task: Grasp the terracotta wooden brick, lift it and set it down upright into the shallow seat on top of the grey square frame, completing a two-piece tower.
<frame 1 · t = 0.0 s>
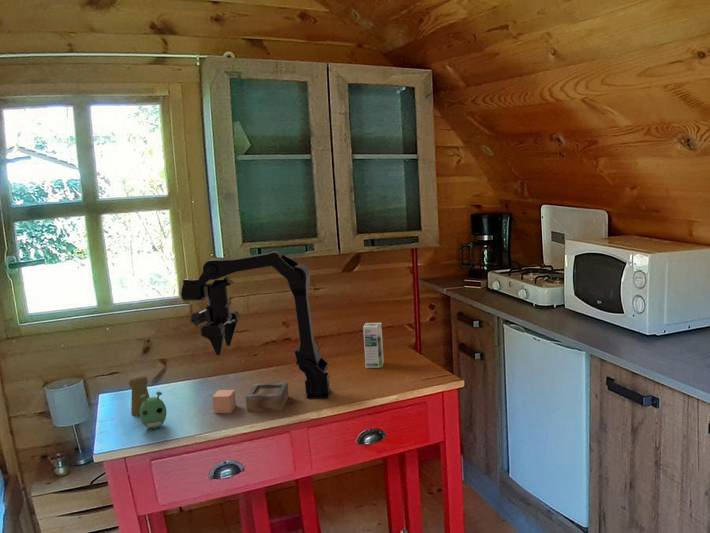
hand: (223, 350, 182), 15 cm above the table, fingers open, 9 cm apart
syrup box: (374, 366, 203), on the table
alien toy: (155, 428, 164), on the table
cork: (142, 412, 176), on the table
top brick: (225, 409, 174), on the table
grey square frame: (268, 404, 176), on the table
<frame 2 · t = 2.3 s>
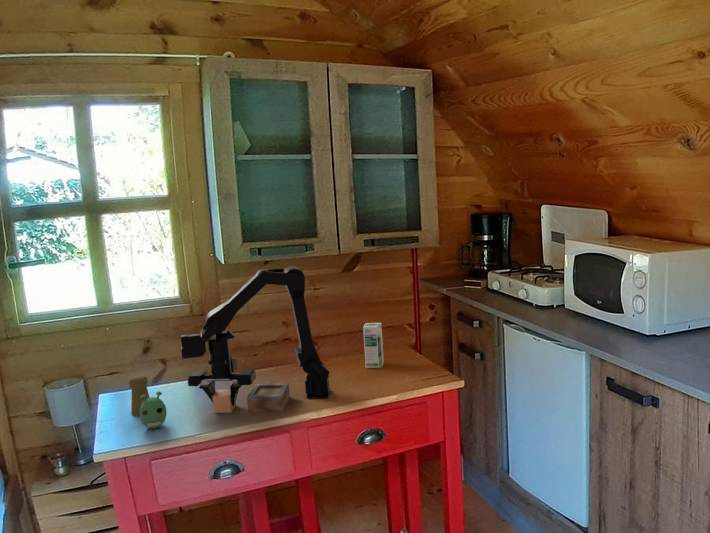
hand: (224, 405, 174), 1 cm above the table, fingers closed on top brick, 5 cm apart
top brick: (225, 409, 174), on the table, touching gripper
everything else where it was.
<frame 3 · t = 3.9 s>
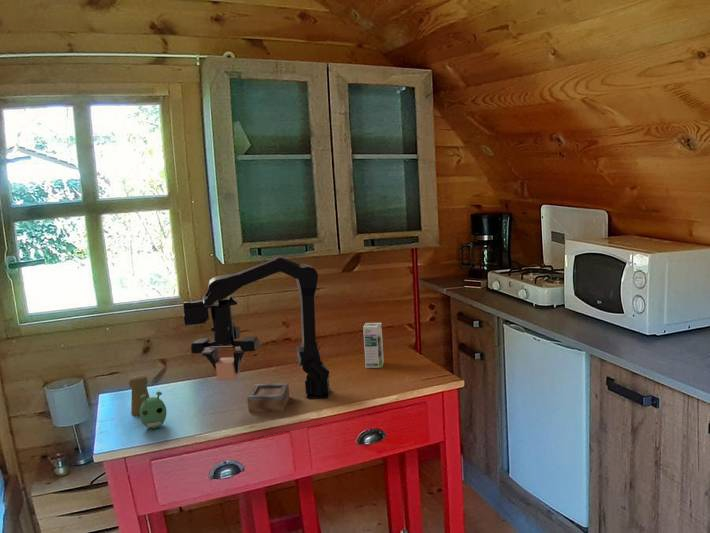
hand: (228, 373, 173), 11 cm above the table, fingers closed on top brick, 5 cm apart
top brick: (228, 376, 173), point 10 cm above the table, touching gripper
everything else where it was.
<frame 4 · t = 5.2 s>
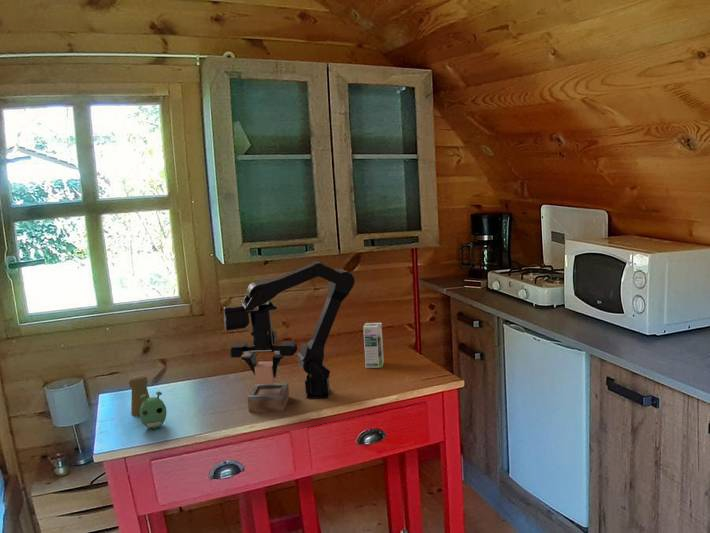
hand: (266, 377, 175), 8 cm above the table, fingers closed on top brick, 5 cm apart
top brick: (266, 380, 175), point 7 cm above the table, touching gripper
everything else where it was.
when the fingers open (6 cm above the table, at t = 5.9 s): top brick drops 2 cm, point 4 cm above the table.
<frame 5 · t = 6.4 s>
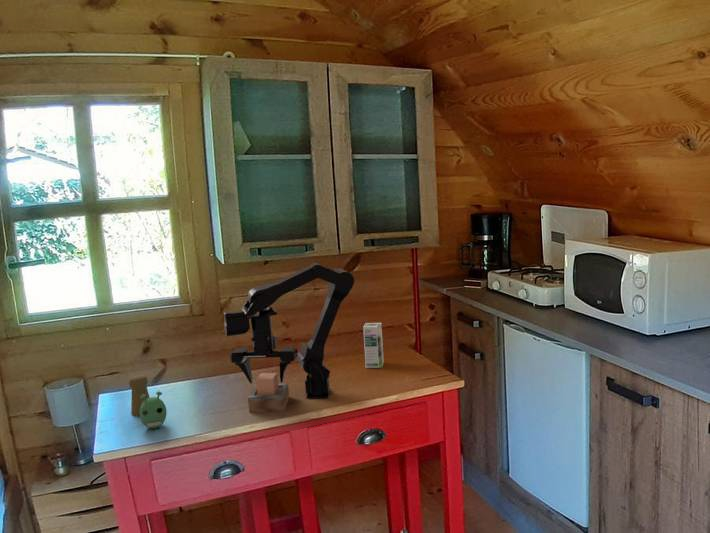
hand: (266, 382, 175), 6 cm above the table, fingers open, 9 cm apart
top brick: (268, 392, 175), point 4 cm above the table
everything else where it was.
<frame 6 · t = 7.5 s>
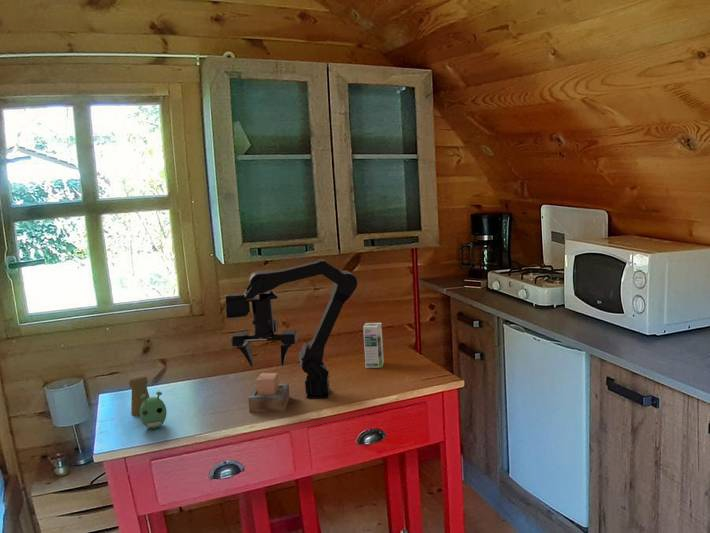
hand: (267, 366, 176), 11 cm above the table, fingers open, 9 cm apart
nothing on the table moved.
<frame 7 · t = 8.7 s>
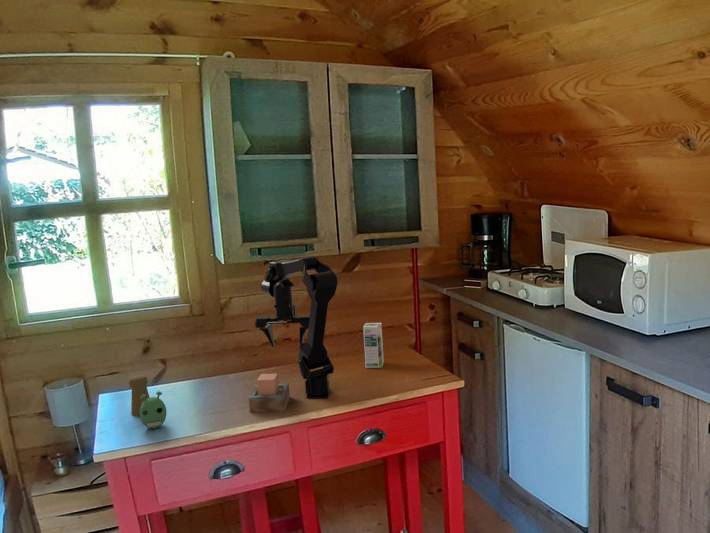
hand: (287, 346, 194), 11 cm above the table, fingers open, 9 cm apart
top brick: (268, 393, 175), point 4 cm above the table, touching grey square frame
grey square frame: (270, 405, 175), on the table, touching top brick
everything else where it was.
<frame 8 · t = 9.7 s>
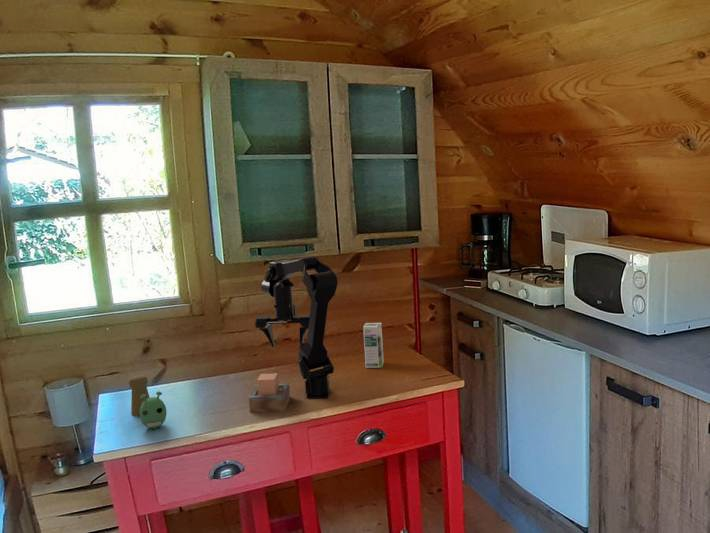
hand: (287, 346, 194), 11 cm above the table, fingers open, 9 cm apart
top brick: (268, 392, 175), point 4 cm above the table
grey square frame: (270, 405, 175), on the table
everything else where it was.
at the end: top brick point 3.6 cm above the table; top brick 0.2 cm from the grey square frame (horizontally); top brick tilted 0° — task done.
